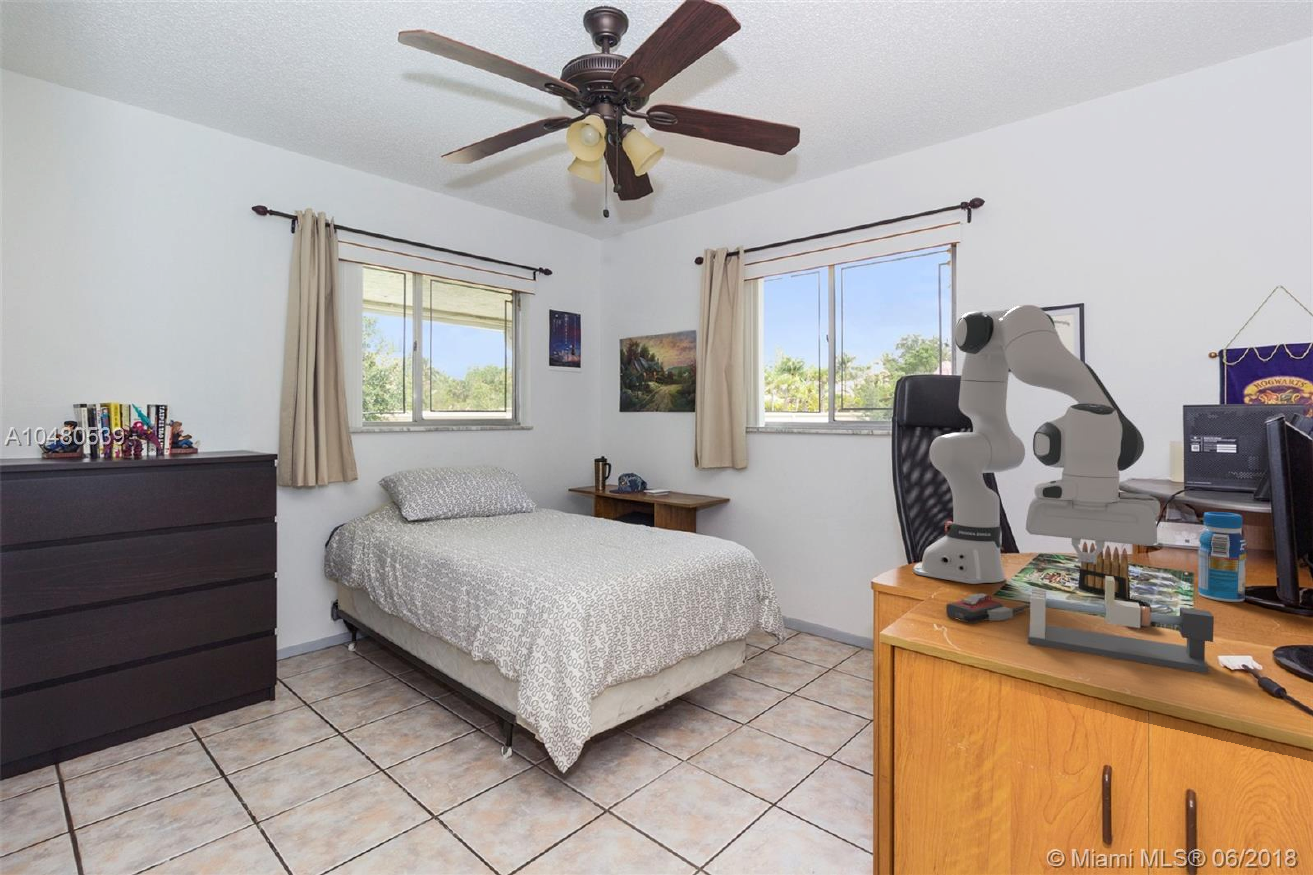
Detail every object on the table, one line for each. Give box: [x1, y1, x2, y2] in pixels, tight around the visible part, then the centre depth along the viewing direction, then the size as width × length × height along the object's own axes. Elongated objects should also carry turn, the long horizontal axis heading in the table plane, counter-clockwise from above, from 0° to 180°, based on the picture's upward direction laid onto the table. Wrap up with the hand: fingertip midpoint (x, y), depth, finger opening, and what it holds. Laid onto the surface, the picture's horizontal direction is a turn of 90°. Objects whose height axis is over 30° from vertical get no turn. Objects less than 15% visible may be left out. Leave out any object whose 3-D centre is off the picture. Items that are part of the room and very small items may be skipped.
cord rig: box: [1027, 587, 1215, 675], centre depth 114 cm, size 27×10×9 cm, turn 57°
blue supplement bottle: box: [1197, 511, 1247, 603], centre depth 145 cm, size 8×8×20 cm
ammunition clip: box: [1078, 540, 1131, 600], centre depth 150 cm, size 11×2×12 cm, turn 26°
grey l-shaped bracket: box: [1104, 576, 1141, 629], centre depth 113 cm, size 5×4×8 cm
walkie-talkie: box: [945, 592, 1030, 624], centre depth 135 cm, size 9×4×20 cm
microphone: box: [1123, 597, 1152, 627], centre depth 132 cm, size 6×6×20 cm
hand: (1086, 562), depth 116 cm, fingers closed
